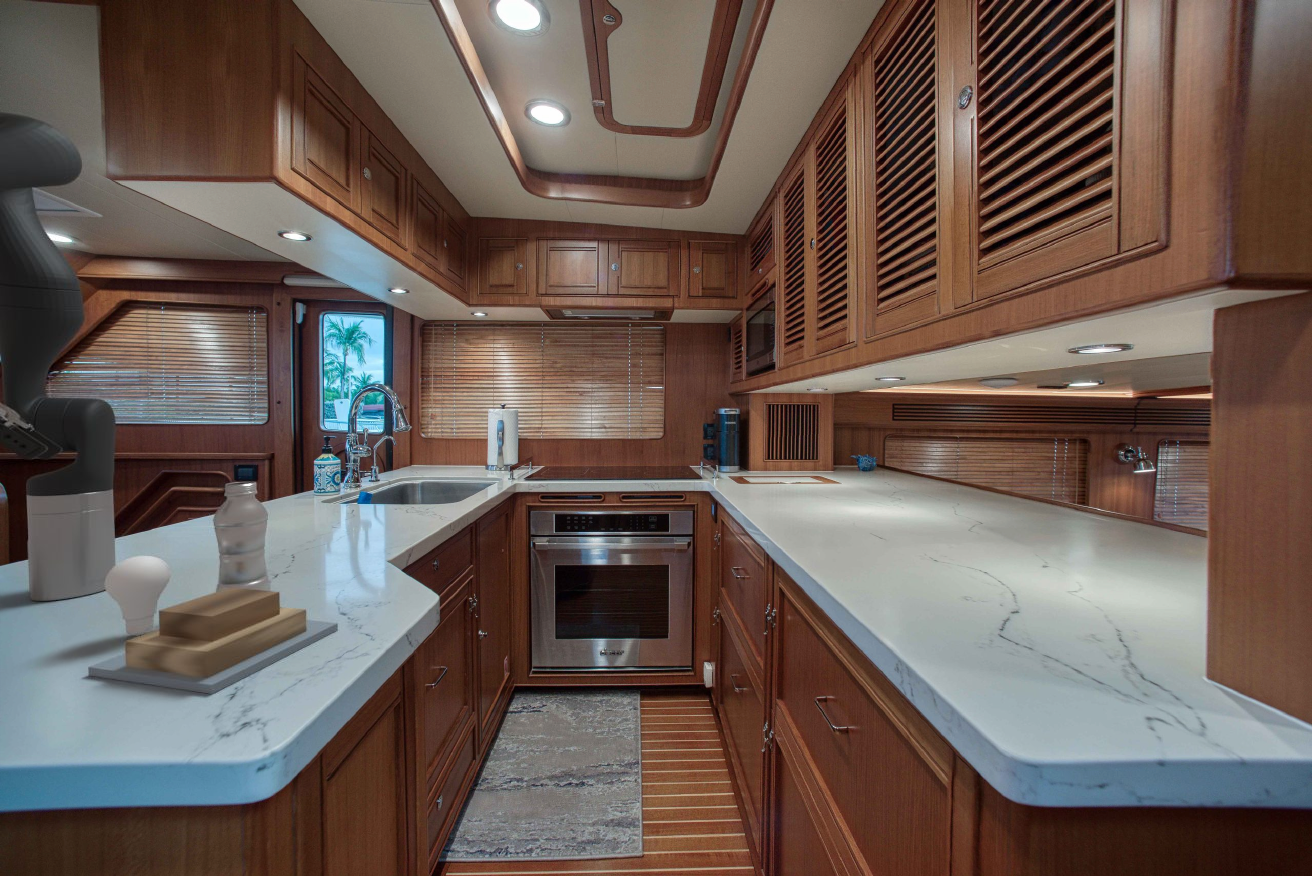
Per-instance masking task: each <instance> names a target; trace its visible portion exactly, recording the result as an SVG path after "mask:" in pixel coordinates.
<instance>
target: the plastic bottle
mask: <svg viewBox="0 0 1312 876" xmlns="http://www.w3.org/2000/svg"><path fill="white" fill-rule="evenodd" d="M224 491H225V492H224V497H226V500H225V501H224V502H223V504H221V505H220V506H219V508H218V509H217V510H216V512H215V513H214V516H213V518H212V521H213V523H212V524H213V526H214V528H213V529H214V532H215V536H216V542H217V547H218V553H219V556H218V557H219V558H218V559H219V566H218V567H219V569H218V579H217V580H218V583H217V584H216V588H215V592H218V591H221V590H225V589H228V588H231V587H232V588H242V589H252V590H263V591H272V590H271V583H270V579H269V575H268V570H267V564H266V557H265V556H266V555H265V552H266V551H265V547H266V535H267V534H266V533H267V528H268V526H267V525H268V520H269V512H268V511H267V508H266V507H265V506H264V505H263V503H262V502H261V501H259V499H257V497H256V495H257V494H258V490H257V482H256V481H239V482H236V481H235V482H229V483H225V485H224Z"/></svg>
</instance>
